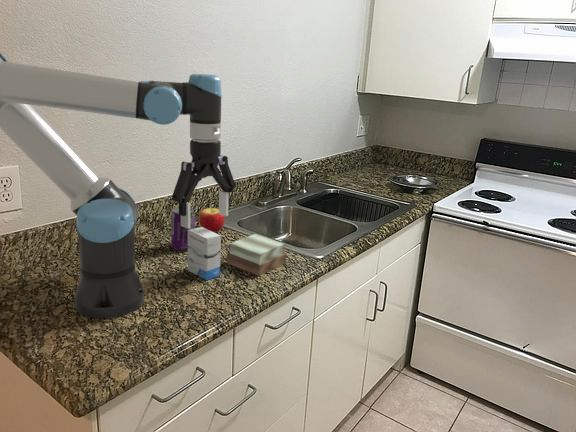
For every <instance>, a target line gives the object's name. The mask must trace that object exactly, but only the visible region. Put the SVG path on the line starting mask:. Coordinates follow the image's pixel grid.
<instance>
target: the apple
mask: <svg viewBox="0 0 576 432" xmlns="http://www.w3.org/2000/svg"><path fill="white" fill-rule="evenodd" d="M225 218H226V216H224V215H220V214H219V208H216V207H215V208H214V207H213V205H212V202H210V207H208V208H203V209H202V210H201V211H200V212H199V215H198V221H199V224H200V226H201V227H203V228H205V229H208V230H210V231H212V232H214V233H217V232H219V231H221V229H223V227H224V224H225Z"/></svg>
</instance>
